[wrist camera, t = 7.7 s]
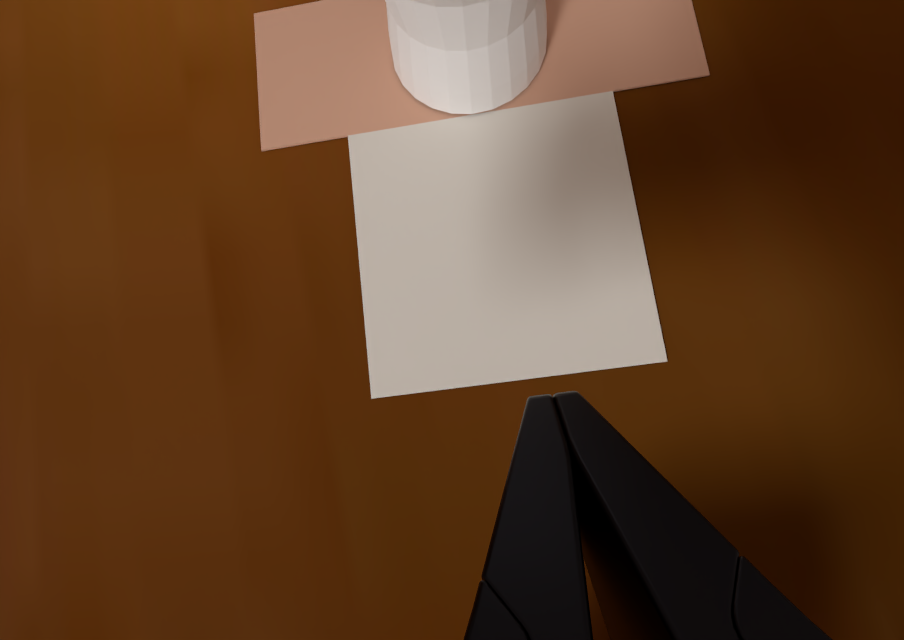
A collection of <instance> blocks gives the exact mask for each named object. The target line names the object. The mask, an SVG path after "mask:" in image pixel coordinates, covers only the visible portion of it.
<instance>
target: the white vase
mask: <svg viewBox="0 0 904 640" xmlns="http://www.w3.org/2000/svg"><path fill="white" fill-rule="evenodd" d="M385 2H386V7H387V19H388V32H389V38H390V45H391V51H392V57H393V62H394V68H395V71H396V73H397V75H398V77H399V79H400V81H401V83H402V85H403V86H404V87H405V88H406V89H407V90H408V91H409V92H410V93H411V94H412V95H413V96H414V98H415V99H417V100H419V101H420V102H422V103H424V104H426V105H427V106H429V107H431V108H433V109H436V110H440V111H444V112H447V113H451V114H475V113H479V112H484V111H488V110H493V109H495V108H497V107H499V106H501V105H503V104H505V103H507V102H509V101H511V100H513V99H514V98H515V97H516V96H517V95H519V94H520V93H521V92H522V91H523V90H525V89H526V88H527V87H528V86H529V84H530V83H531V82H532V80H533V79H534V77H535V76H536V75H537V73H538V72H539V70H540V67H541V64H542V62H543V59H544V56H545V54H546V40H547V12H546V1H545V0H385Z"/></svg>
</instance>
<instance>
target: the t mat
mask: <svg viewBox="0 0 904 640" xmlns="http://www.w3.org/2000/svg"><path fill="white" fill-rule="evenodd" d="M545 1H546V12H547V40H546V54H545V56H544V59H543V62H542V64H541V67H540V70H539V72H538V73H537V75H536V76H535V77H534V79H533V80H532V82H531V83H530V84H529V86H528V87H527V88H526V89H525V90H523V91H522V92H521V93H520V94H519V95H517V96H516V97H515V98H514V99H513V100H511V101H509V102H507V103H505V104H503V105H501V106H499V107H497V108H495V109H493V110H488V111H484V112H479V113H475V114H451V113H447V112H444V111H440V110H436V109H433V108H431V107H429V106H427V105H426V104H424V103H422V102H420V101H419V100H417V99H415V98H414V96H413V95H412V94H411V93H410V92H409V91H408V90H407V89H406V88H405V87H404V86H403V85H402V83H401V81H400V79H399V77H398V75H397V73H396V71H395V68H394V62H393V57H392V51H391V45H390V38H389V32H388V19H387V7H386V2H385V0H322V1H317V2H312V3H307V4H301V5H296V6H291V7H286V8H281V9H275V10H270V11H265V12H260V13H254V23H255V42H256V60H257V79H258V98H259V117H260V135H261V150H262V151H267V150H273V149H279V148H285V147H290V146H296V145H302V144H308V143H314V142H320V141H326V140H332V139H338V138H344V137H348V142H349V153H350V164H351V176H352V187H353V198H354V209H355V220H356V231H357V243H358V254H359V265H360V276H361V287H362V298H363V310H364V321H365V332H366V343H367V354H368V366H369V377H370V388H371V399H372V398H380V397H388V396H396V395H404V394H412V393H420V392H428V391H436V390H444V389H452V388H460V387H468V386H476V385H484V384H492V383H500V382H508V381H516V380H524V379H532V378H540V377H547V376H555V375H563V374H571V373H579V372H587V371H595V370H603V369H611V368H619V367H627V366H635V365H643V364H651V363H659V362H667V356H666V351H665V346H664V341H663V336H662V332H661V327H660V322H659V317H658V312H657V307H656V302H655V297H654V292H653V287H652V282H651V277H650V272H649V267H648V262H647V258H646V253H645V248H644V243H643V238H642V233H641V228H640V223H639V218H638V213H637V208H636V203H635V198H634V193H633V188H632V184H631V179H630V174H629V169H628V164H627V159H626V154H625V149H624V144H623V139H622V134H621V129H620V124H619V119H618V114H617V109H616V105H615V100H614V95H613V92H616V91H622V90H628V89H634V88H640V87H646V86H652V85H658V84H664V83H670V82H675V81H681V80H687V79H693V78H699V77H705V76H709V75H710V73H709V69H708V65H707V61H706V57H705V53H704V49H703V45H702V41H701V37H700V32H699V28H698V24H697V20H696V16H695V12H694V8H693V4H692V0H545Z"/></svg>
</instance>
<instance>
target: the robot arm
mask: <svg viewBox="0 0 904 640" xmlns="http://www.w3.org/2000/svg"><path fill="white" fill-rule="evenodd" d="M583 557H584V559H583ZM584 560H585V563H586V566H587V569H588V572H589V575H590V578H591V582H592V585H593V588H594V591H595V594H596V597H597V600H598V603H599V606H600V609H601V612H602V615H603V618H604V621H605V624H606V627H607V630H608V633H609V637H610V640H832V639H831V638H830V637H829V636H828V635H826V634H825V633H824V632H823V631H822V630H821V629H820V628H818V627H817V626H816V625H815V624H814V623H813V622H812V621H810V620H809V619H808V618H807V617H806V616H805V615H804V614H803V613H802V612H801V611H800V610H799V609H798V608H797V607H796V606H795V605H794V604H792V603H791V602H790V601H789V600H788V599H787V598H786V597H785V596H784V595H783V594H782V593H781V592H780V591H779V590H778V589H777V588H776V587H775V586H773V585H772V584H771V583H770V582H769V581H768V580H767V579H766V578H765V577H764V576H763V575H762V574H761V573H760V572H759V571H758V570H757V569H756V568H755V567H754V566H753V565H752V564H751V563H750V562H749V561H748V560H747V559H746V558H745V557H744V556H740V557H739V552H738V550H737V549H736V548H735V547H734V546H733V545H732V544H731V543H730V542H729V541H728V540H727V539H726V538H725V537H724V536H723V535H722V534H721V533H720V532H719V531H718V530H717V529H716V528H715V527H714V526H713V525H712V524H711V523H710V522H709V521H708V520H707V519H706V518H705V517H704V516H703V515H702V514H701V513H700V512H699V511H698V510H697V509H695V508H694V507H693V506H692V505H691V504H690V503H689V502H688V501H687V500H686V499H685V498H684V497H683V496H682V495H681V494H680V493H679V492H678V491H677V490H676V489H675V488H674V487H673V486H672V485H671V484H670V483H669V482H668V481H667V480H666V479H665V478H664V477H663V476H662V475H661V474H660V473H659V472H658V471H657V470H656V469H655V468H654V467H653V466H652V465H651V464H650V463H649V462H648V461H647V460H646V459H645V458H644V457H643V456H642V455H641V454H640V453H639V452H638V451H637V450H636V449H635V448H634V447H633V446H632V445H631V444H630V443H629V442H628V441H627V440H626V439H625V438H624V437H623V436H622V435H621V434H620V433H619V432H618V431H617V430H616V429H615V428H614V427H613V426H612V425H611V424H610V423H609V422H608V421H607V420H606V419H605V418H604V417H603V416H602V415H601V414H600V413H599V412H598V411H597V410H596V409H595V408H594V407H593V406H592V405H591V404H590V403H589V402H588V401H587V400H586V399H584V398H583V397H582V396H581V395H580V394H579V393H578V392H576V391H570V392H562V393H556V394H554V395H553V397H552V396H551V395H550V394H545V395H537V396H530V397H529V398H528V399H527V403H526V406H525V410H524V414H523V418H522V422H521V426H520V430H519V433H518V437H517V441H516V445H515V449H514V453H513V457H512V460H511V464H510V468H509V472H508V476H507V480H506V484H505V487H504V491H503V495H502V499H501V503H500V507H499V510H498V514H497V518H496V522H495V526H494V530H493V534H492V537H491V541H490V545H489V549H488V553H487V557H486V561H485V564H484V568H483V572H482V581H480V583H479V586H478V590H477V594H476V598H475V602H474V605H473V609H472V613H471V616H470V619H469V623H468V626H467V630H466V633H465V636H464V640H593V635H592V627H591V618H590V610H589V601H588V593H587V585H586V576H585V568H584Z"/></svg>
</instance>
